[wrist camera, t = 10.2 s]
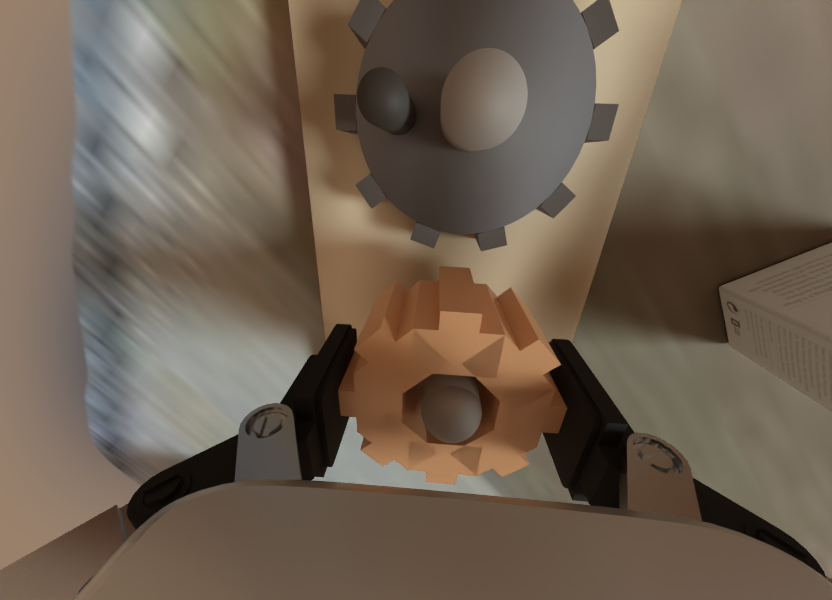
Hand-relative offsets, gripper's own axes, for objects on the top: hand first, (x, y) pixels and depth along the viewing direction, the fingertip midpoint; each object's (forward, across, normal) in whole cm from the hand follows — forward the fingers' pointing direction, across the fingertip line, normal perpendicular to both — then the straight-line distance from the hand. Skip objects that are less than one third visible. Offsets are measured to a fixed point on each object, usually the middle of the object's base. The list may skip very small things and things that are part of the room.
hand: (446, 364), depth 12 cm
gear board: (+5, 0, -4) cm, 7 cm away
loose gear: (+1, 0, 0) cm, 1 cm away
